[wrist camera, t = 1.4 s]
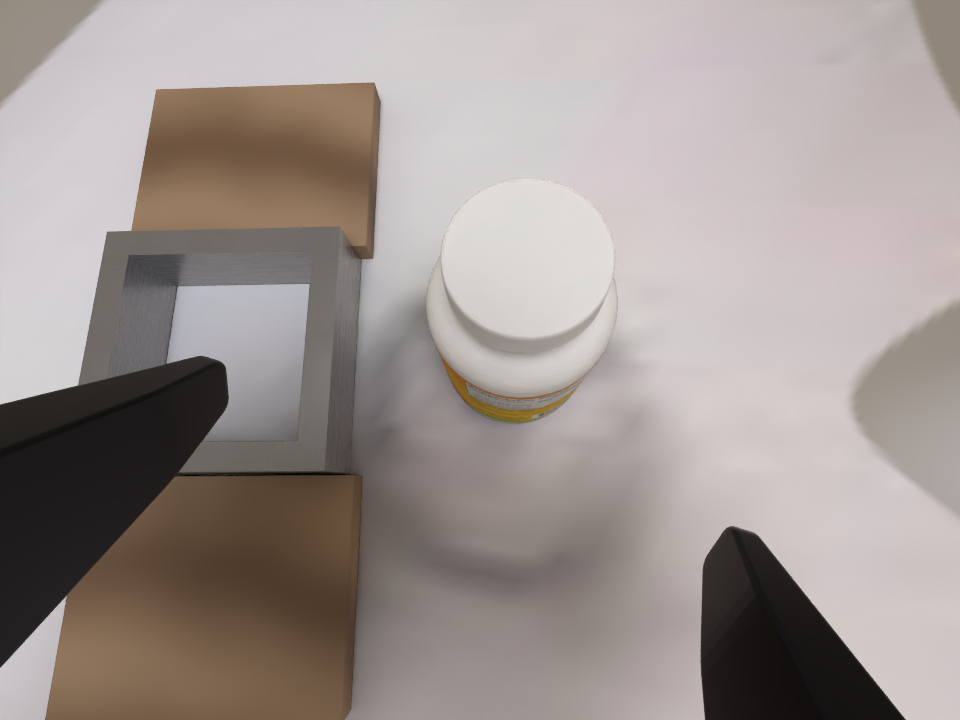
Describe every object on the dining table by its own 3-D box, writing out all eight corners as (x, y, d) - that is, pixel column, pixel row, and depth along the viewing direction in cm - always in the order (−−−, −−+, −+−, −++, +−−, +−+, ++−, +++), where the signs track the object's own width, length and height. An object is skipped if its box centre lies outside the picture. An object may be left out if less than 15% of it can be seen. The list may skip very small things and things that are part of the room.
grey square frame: (349, 473, 20) (324, 470, 17) (124, 475, 20) (61, 472, 17) (361, 260, 22) (340, 226, 19) (157, 264, 22) (106, 231, 20)
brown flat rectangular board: (351, 709, 18) (340, 724, 17) (73, 707, 18) (44, 722, 17) (380, 102, 24) (374, 82, 23) (172, 108, 24) (156, 89, 23)
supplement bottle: (461, 288, 22) (434, 134, 12) (588, 308, 21) (660, 166, 12) (436, 412, 20) (383, 347, 11) (570, 436, 20) (634, 390, 11)
